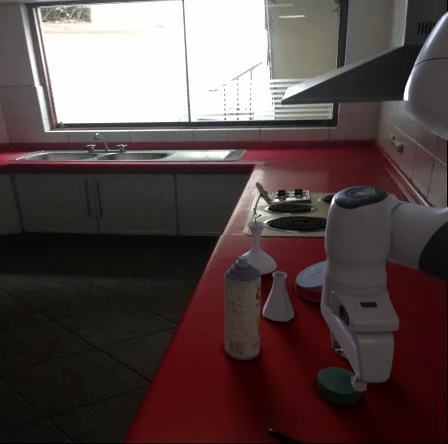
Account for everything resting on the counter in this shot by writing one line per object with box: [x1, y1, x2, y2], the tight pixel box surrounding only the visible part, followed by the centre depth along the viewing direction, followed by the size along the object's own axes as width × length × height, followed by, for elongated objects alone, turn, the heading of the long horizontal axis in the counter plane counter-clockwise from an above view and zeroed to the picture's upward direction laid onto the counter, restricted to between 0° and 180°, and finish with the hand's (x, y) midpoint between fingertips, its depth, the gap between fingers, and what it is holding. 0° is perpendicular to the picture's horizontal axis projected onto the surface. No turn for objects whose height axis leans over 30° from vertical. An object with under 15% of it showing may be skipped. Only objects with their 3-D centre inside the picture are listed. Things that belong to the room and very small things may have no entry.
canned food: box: [294, 260, 327, 303], centre depth 103 cm, size 11×10×10 cm
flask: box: [262, 270, 295, 322], centre depth 94 cm, size 7×7×10 cm
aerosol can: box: [223, 255, 262, 361], centre depth 80 cm, size 7×7×20 cm
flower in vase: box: [235, 181, 278, 276], centre depth 115 cm, size 13×11×25 cm
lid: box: [316, 366, 362, 406], centre depth 71 cm, size 7×7×2 cm
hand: (347, 368), depth 68 cm, fingers open, 8 cm apart
